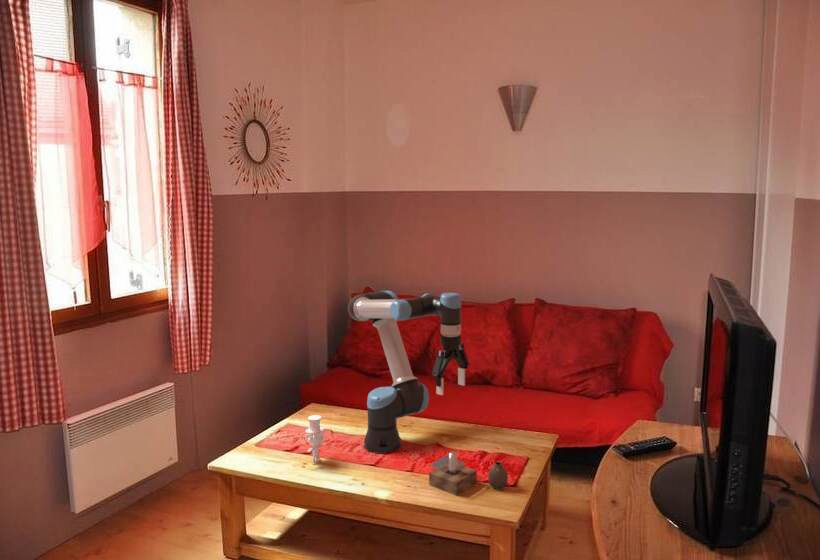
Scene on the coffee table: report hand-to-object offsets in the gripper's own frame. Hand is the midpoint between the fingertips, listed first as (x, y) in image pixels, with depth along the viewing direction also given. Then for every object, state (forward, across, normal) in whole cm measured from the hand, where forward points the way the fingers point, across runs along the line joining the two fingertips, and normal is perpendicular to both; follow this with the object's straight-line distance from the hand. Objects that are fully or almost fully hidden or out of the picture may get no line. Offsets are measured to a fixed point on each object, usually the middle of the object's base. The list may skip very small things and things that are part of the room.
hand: (450, 389), depth 245 cm
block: (+29, -15, -12) cm, 35 cm away
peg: (+29, -15, -12) cm, 35 cm away
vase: (+29, -6, -25) cm, 39 cm away
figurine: (+29, -33, +40) cm, 59 cm away
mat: (+29, -4, -1) cm, 29 cm away
